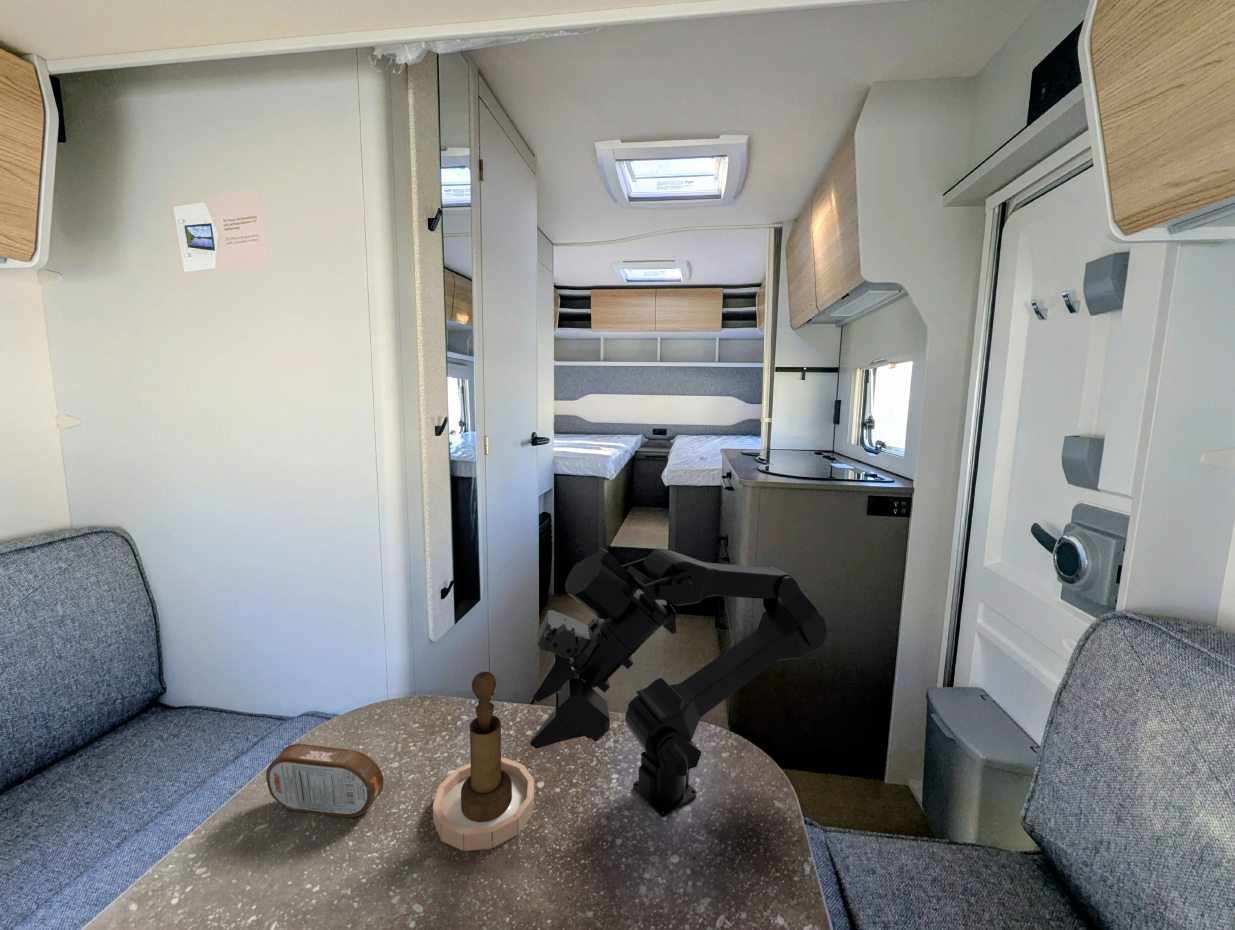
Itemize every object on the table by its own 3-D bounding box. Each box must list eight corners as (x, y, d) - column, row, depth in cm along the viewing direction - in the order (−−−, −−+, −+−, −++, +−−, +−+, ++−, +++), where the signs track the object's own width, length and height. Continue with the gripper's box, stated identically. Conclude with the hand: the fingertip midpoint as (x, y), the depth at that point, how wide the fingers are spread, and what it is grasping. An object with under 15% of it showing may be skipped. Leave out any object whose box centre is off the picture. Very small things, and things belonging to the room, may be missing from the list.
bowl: (509, 759, 75) (509, 746, 75) (550, 816, 65) (550, 801, 65) (422, 798, 68) (422, 784, 67) (454, 869, 58) (453, 852, 57)
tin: (386, 805, 66) (383, 747, 65) (372, 825, 63) (368, 765, 62) (282, 793, 68) (277, 737, 67) (264, 812, 65) (258, 753, 64)
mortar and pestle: (504, 824, 63) (501, 690, 60) (453, 821, 63) (448, 688, 61) (517, 783, 69) (515, 661, 67) (471, 781, 70) (467, 660, 67)
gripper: (572, 568, 71) (495, 645, 71) (579, 627, 53) (475, 731, 53) (626, 617, 73) (551, 692, 73) (651, 691, 55) (551, 791, 55)
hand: (534, 720), depth 64 cm, fingers open, 9 cm apart
